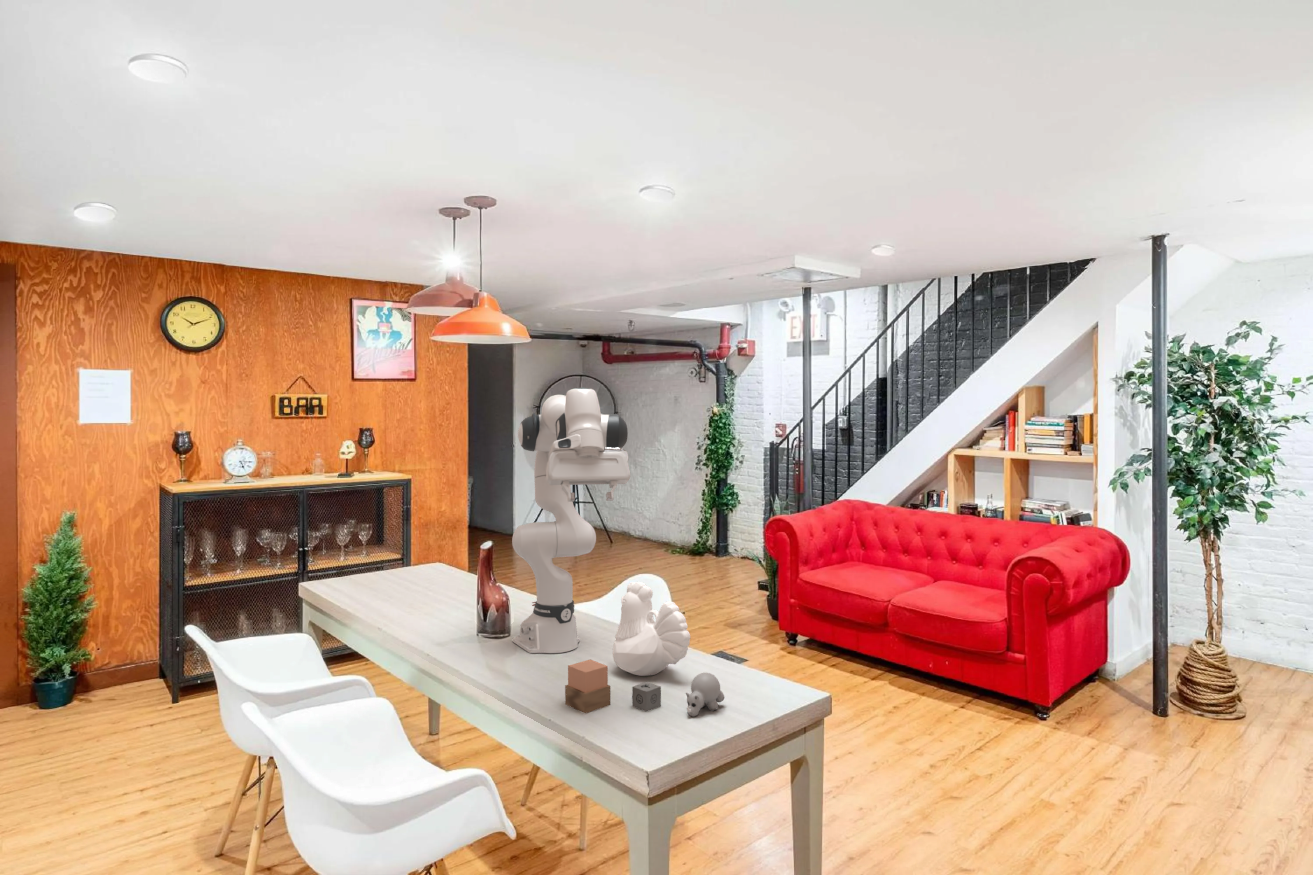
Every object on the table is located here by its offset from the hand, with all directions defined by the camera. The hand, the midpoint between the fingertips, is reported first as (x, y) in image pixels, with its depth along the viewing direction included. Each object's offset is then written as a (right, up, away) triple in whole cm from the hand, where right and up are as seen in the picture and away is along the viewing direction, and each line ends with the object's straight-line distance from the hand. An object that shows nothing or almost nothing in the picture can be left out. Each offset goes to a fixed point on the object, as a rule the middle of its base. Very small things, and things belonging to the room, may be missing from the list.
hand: (590, 500), depth 181 cm
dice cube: (+13, -52, +8) cm, 54 cm away
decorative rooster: (+14, -51, +31) cm, 61 cm away
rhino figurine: (+27, -52, +6) cm, 59 cm away
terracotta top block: (-2, -47, +9) cm, 48 cm away
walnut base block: (-2, -52, +9) cm, 53 cm away
